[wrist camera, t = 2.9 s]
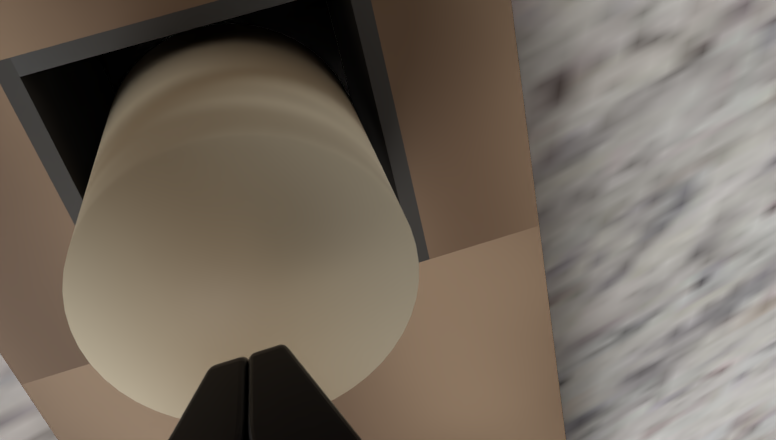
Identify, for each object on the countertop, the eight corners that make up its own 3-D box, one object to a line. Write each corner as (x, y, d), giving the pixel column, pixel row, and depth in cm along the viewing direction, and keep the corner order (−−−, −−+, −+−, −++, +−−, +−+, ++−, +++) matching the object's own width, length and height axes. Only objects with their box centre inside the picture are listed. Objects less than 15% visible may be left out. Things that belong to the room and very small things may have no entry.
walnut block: (387, -297, 14) (469, -337, 10) (529, 505, 26) (591, 641, 22) (-155, -161, 13) (-328, -139, 9) (258, 596, 26) (268, 755, 21)
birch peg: (322, -7, 12) (379, 87, 8) (379, 211, 15) (444, 367, 11) (62, 64, 12) (-8, 198, 8) (162, 277, 14) (146, 463, 10)
